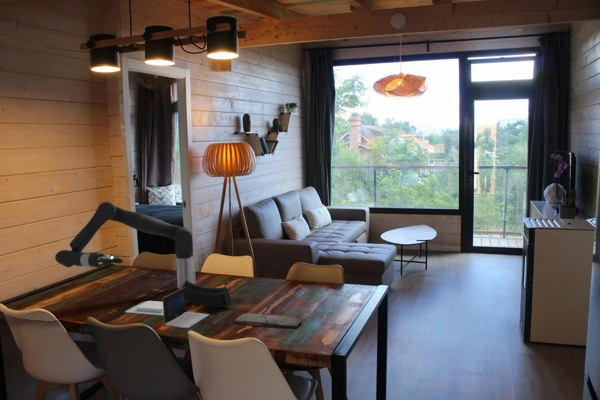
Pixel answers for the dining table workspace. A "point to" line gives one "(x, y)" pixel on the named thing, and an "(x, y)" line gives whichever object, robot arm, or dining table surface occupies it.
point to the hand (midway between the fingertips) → (121, 260)
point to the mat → (134, 310)
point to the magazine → (207, 295)
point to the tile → (151, 306)
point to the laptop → (179, 310)
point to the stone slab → (268, 320)
